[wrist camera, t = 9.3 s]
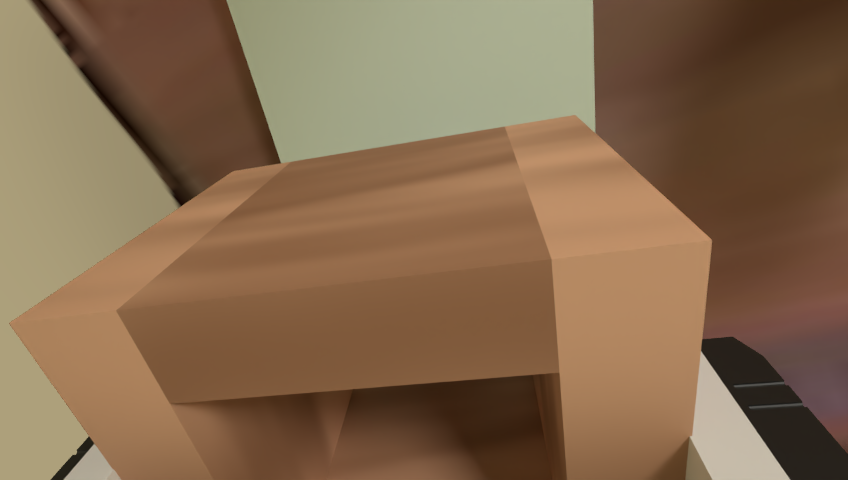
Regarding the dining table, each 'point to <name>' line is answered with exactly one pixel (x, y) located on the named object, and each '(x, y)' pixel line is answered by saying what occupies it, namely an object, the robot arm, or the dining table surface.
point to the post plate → (413, 68)
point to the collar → (395, 320)
